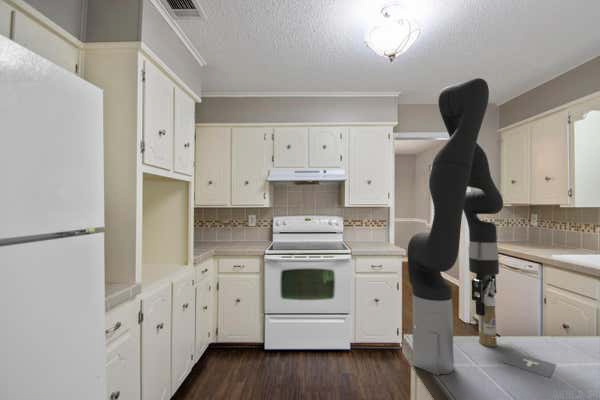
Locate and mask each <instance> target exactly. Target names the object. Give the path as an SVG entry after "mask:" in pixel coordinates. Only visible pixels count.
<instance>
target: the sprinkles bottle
mask: <svg viewBox="0 0 600 400" xmlns="http://www.w3.org/2000/svg"><path fill="white" fill-rule="evenodd" d="M478 297H479V295H478ZM496 305H497V303H496V298H495V297H494V298H492V297H488V296H486V298H485V315H484V316H481V315H477V318H478V319H477V320H478V336H479V337H478V338H479V339H478V342H479V344H481V345H484V346H486V347H497V345H498V343H497V342H498V341H497V323H496V322H497V321H496ZM492 337H493V338H492ZM495 337H496V338H495Z"/></svg>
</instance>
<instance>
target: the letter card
mask: <svg viewBox="0 0 600 400" xmlns="http://www.w3.org/2000/svg"><path fill="white" fill-rule="evenodd" d="M503 364H506V365H509V366H512V367H516V368H518V369H521V370H523V371H524V370H525V371H528V372H531V373H534V374H536V375H539V376H543V377H545V378H549V379H551V377H552V374H553V373H554V370H555V368H556V366H557V364H556V363H552V362H549V361H546V360H543V359H539V358H536V357H533V356H530V355H525V354H522V353H519V352H515V351H512V352H511V353H510V354H509V356H507V358H506V359H505V361H504V362H503Z"/></svg>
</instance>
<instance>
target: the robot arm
mask: <svg viewBox="0 0 600 400" xmlns="http://www.w3.org/2000/svg"><path fill="white" fill-rule="evenodd" d="M489 96H490V91H489V86H488V83H487V81H486V80H485V79H484V78H480V77H478V78H472V79H469V80H465V81H462V82H458V83H455V84H452V85H449V86H446V87H443V88H442V89H441V91H440V93H439V95H438V103H437V104H438V109H439V113H440V115H441V116H440V117H441V119H442V121H443V123H444V126H445V129H446V131H447V133H448V136H449V138H448V139H447V141H446V142H445V143H444V144H443V146H442V147H441V148H440V150H438V151H437V153H436V155H434V159H433V160H432V161H433V162H432V164H431V170H430V174H429V179H428V180H429V181H428V186H429V187H428V188H429V192H430V195H431V196H430V197H431V200H432V205H433V208H434V209H433V210H434V211H433V220H432V224H431V229H430V232H418V233H416V234H414V235H413V236H412V237H411V238H410V240H409V241H408V245H407V269H408V270H407V271H408V279H409V283H410V285H411V289H412V323H413V324H412V361H413V362H412V363H413V364H412V365H413V366H414V367H416V368H419V369H421V370H423V371H426V372H428V373H430V374H432V375H436V376H440V375H446V374H447V375H448V374H450V373H453V372H454V371H455V359H454V358H455V357H454V355H455V354H454V326H453V325H454V323H453V320H454V319H453V291H452V287H451V285H450V284H449V283H448V282H447V281H446V280H445V279H444V277H443V274H442V273H444V272H447V271H450V270H451V269H452V268H454V266H455V264H456V262H457V259H458V255H459V250H460V241H461V228H462V219H463V213H464V216H465V218H466V219H465V220H466V222H467V227H468V238H469V241H468V242H469V243H468V266H469V267H468V268H469V269H468V270H469V272H471V273H472V274H475V278H471V301H474V302H475V314H476V315H477V316H478V315H481V316H484V315H485V298H486V296H488V297H492V298H494V299H495V296H496V294H497V292H498V291H497V278H496V275H497V276H498V275H499V274H500V264H499V262H500V261H499V259H500V258H499V249H498V236H497V235H498V234H497V226H496V224H495V223H493V222H489V221H485V220H481V219H480V217H478V215H496V214H498V213H500V212H501V211H502V209H503V207H504V200H503V197H502V194H501V193H500V191H499V190H498V188H497V186H496V184H495V182H494V180H493V178H492V175H491V171H490V170H491V169H490V164H489V161H488V160H489V159H488V157H487V153H486V152H485V151H484V149H483V147H481V145H480V144H478V143H477V142H478V137H479V134H480V130H481V128H482V124H483V121H484V118H485V114H486V111H487V108H488V104H489V98H490V97H489ZM468 188H473V189H477V191H474V190H473V191H467V190H468ZM478 189H479V190H478ZM478 296H479V297H478Z"/></svg>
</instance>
